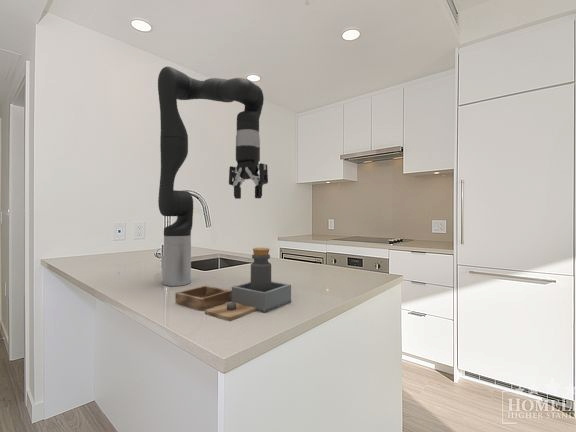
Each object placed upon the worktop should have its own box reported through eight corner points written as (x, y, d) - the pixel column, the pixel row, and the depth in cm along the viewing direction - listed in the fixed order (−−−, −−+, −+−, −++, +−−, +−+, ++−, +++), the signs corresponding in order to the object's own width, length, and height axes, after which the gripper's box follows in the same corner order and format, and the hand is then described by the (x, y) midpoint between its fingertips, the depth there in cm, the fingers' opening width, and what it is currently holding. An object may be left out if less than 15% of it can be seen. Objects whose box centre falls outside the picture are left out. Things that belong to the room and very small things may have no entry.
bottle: (268, 304, 87) (268, 250, 86) (247, 303, 88) (248, 249, 88) (273, 298, 93) (273, 247, 92) (253, 297, 94) (254, 246, 93)
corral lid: (204, 313, 81) (204, 305, 81) (232, 304, 89) (232, 297, 89) (229, 320, 76) (229, 312, 76) (257, 310, 84) (257, 302, 84)
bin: (231, 304, 89) (231, 286, 89) (259, 295, 99) (259, 279, 98) (264, 312, 82) (264, 293, 82) (291, 301, 92) (291, 284, 92)
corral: (175, 303, 89) (175, 293, 89) (206, 295, 98) (206, 285, 98) (201, 310, 83) (201, 299, 83) (231, 301, 92) (231, 290, 92)
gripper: (222, 147, 100) (222, 198, 100) (257, 141, 92) (257, 197, 92) (239, 150, 106) (239, 199, 107) (273, 146, 98) (273, 198, 98)
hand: (247, 198), depth 99 cm, fingers open, 8 cm apart
